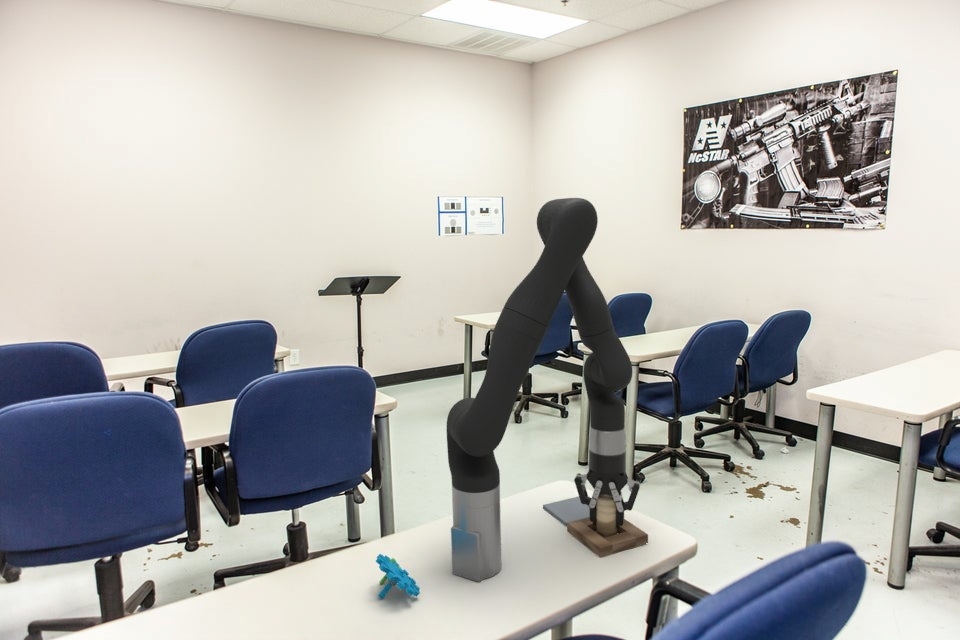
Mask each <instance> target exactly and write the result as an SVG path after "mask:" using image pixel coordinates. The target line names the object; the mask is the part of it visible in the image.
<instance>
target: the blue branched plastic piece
mask: <svg viewBox="0 0 960 640" xmlns="http://www.w3.org/2000/svg"><path fill="white" fill-rule="evenodd" d="M375 562H376V563H377V564H378V565H379V566H378V568H379V570H380V571H381V572H383V573H384V576H383V577H382V578H381V579H380V580H379V584H380V585H381V584H382V585H384V583H385V582H386V581H388V582H387V583H386V585H385V586H384V587H383V589H381V590H380V592H379V593H378V595H377V597H378V599H380V600H383V599H384V597H385V596H386V595H387V594H388V592H390V590H391V589H392V588H393V587H395V586H396V588H398V589H399V590H400V591H403V589H405V593H406V594H407V595H408V596H410V597H412V596H414V597H418V596H419V595H420V589H421V587H420V586H418V585H417V582H416V580H415V579H414V578H413V577H410V576H409V572H408V571H407V570H406V569H402V567H401V566H400V564H399V563H398V562H397V560H396V559H395V558H394V557H389V556H388V555H383V554H381V553H379V554H378V555H377V556H376V559H375ZM382 598H383V599H382Z"/></svg>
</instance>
